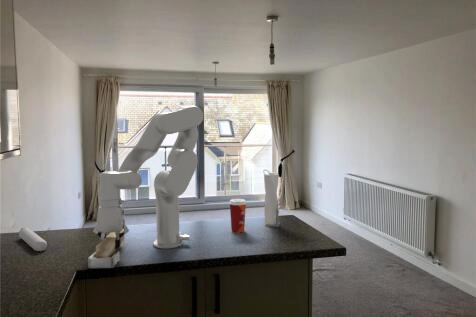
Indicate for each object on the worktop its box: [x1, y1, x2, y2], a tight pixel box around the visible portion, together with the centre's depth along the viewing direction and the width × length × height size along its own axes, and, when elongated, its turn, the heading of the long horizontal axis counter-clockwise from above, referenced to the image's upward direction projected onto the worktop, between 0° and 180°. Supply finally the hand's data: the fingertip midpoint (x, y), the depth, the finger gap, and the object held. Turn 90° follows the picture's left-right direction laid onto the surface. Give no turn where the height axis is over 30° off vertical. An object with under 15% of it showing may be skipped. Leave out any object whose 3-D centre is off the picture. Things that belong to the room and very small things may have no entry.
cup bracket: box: [87, 250, 121, 269], centre depth 139 cm, size 9×8×4 cm
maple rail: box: [95, 229, 125, 258], centre depth 148 cm, size 4×22×5 cm, turn 1°
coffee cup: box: [228, 198, 247, 234], centre depth 179 cm, size 8×8×15 cm
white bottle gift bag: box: [263, 169, 281, 228], centre depth 189 cm, size 8×8×28 cm
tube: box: [18, 226, 48, 252], centre depth 161 cm, size 5×5×25 cm
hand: (111, 248), depth 149 cm, fingers closed on maple rail, 4 cm apart
